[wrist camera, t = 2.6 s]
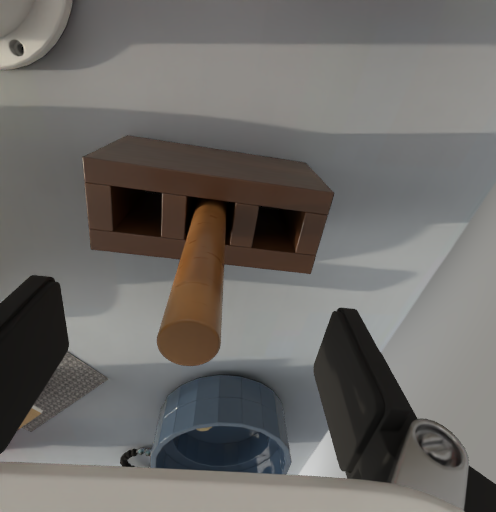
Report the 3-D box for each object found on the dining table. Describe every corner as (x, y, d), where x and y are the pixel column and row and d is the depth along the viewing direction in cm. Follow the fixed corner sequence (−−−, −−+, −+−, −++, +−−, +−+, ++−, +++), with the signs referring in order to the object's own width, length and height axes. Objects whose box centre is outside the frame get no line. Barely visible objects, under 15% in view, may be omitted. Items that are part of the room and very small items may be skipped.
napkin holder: (59, 382, 36) (21, 449, 29) (24, 408, 38) (-20, 476, 31) (33, 367, 34) (-14, 432, 28) (-3, 394, 36) (-54, 462, 30)
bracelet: (171, 461, 44) (170, 468, 43) (139, 473, 45) (137, 481, 44) (146, 441, 42) (144, 449, 41) (112, 454, 43) (110, 462, 42)
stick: (202, 194, 26) (155, 364, 10) (204, 170, 25) (156, 317, 9) (226, 197, 26) (216, 369, 10) (229, 174, 25) (223, 323, 9)
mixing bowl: (160, 443, 42) (149, 499, 37) (163, 364, 35) (150, 418, 30) (270, 448, 44) (275, 502, 38) (294, 374, 37) (305, 427, 31)
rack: (290, 226, 28) (310, 274, 21) (128, 205, 26) (90, 249, 19) (306, 162, 25) (334, 192, 18) (126, 135, 23) (81, 156, 16)
